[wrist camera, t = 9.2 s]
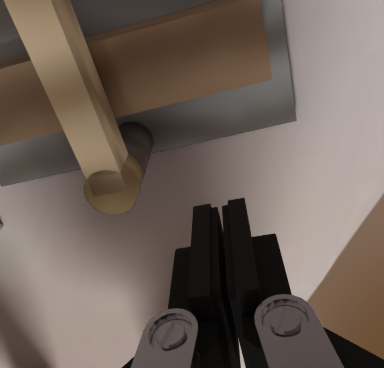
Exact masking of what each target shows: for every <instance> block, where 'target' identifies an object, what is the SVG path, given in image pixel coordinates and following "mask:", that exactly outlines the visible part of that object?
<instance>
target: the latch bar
mask: <svg viewBox="0 0 384 368" xmlns="http://www.w3.org/2000/svg"><path fill="white" fill-rule="evenodd" d="M4 2H5V4H6V7H7V9H8V11H9V13H10V15H11V17H12V20H13V22H14V24H15V26H16V28H17V30H18V33H19V35H20V37H21V39H22V41H23V43H24V46H25V48H26V50H27V52H28V54H29V56H30V59H31V61H32V63H33V65H34V67H35V69H36V72H37V74H38V76H39V78H40V80H41V82H42V85H43V87H44V89H45V91H46V93H47V95H48V98H49V100H50V102H51V104H52V106H53V108H54V111H55V113H56V115H57V117H58V119H59V121H60V124H61V126H62V128H63V130H64V132H65V134H66V137H67V139H68V141H69V143H70V145H71V147H72V150H73V152H74V154H75V156H76V158H77V160H78V163H79V165H80V167H81V169H82V171H83V174H84V176H85V178H86V182H85V185H84V194H85V197H86V199H87V201H88V202H89V203H90V205H91V206H92V207H94V208H95V209H96V210H98V211H100V212H102V213H105V214H110V215H118V214H123V213H125V212H127V211H129V210H130V209H131V208H132V207H133V206H134V204H135V202H136V199H137V196H138V193H139V190H140V187H141V183H142V180H143V170H142V167H141V165H140V163H139V162H138V161H137V160H136V159H135V158H134V157H133V156H131V155H130V154H128V152H127V149H126V146H125V144H124V141H123V138H122V136H121V133H120V131H119V128H118V125H117V123H116V120H115V117H114V115H113V112H112V110H111V107H110V104H109V102H108V99H107V96H106V94H105V91H104V88H103V86H102V83H101V81H100V78H99V75H98V73H97V70H96V67H95V65H94V62H93V59H92V57H91V54H90V52H89V49H88V46H87V44H86V41H85V38H84V36H83V33H82V31H81V28H80V25H79V23H78V20H77V17H76V15H75V12H74V9H73V7H72V4H71V2H70V0H4Z"/></svg>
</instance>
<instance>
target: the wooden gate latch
mask: <svg viewBox="0 0 384 368" xmlns="http://www.w3.org/2000/svg"><path fill="white" fill-rule="evenodd" d="M70 2H71V4H72V7H73V9H74V12H75V15H76V17H77V20H78V23H79V25H80V28H81V31H82V33H83V36H84V38H85V41H86V44H87V46H88V49H89V52H90V54H91V57H92V59H93V62H94V65H95V67H96V70H97V73H98V75H99V78H100V81H101V83H102V86H103V88H104V91H105V94H106V96H107V99H108V102H109V104H110V107H111V110H112V112H113V115H114V117H115V120H116V123H117V125H118V128H119V131H120V133H121V136H122V138H123V141H124V144H125V146H126V149H127V152H128V154H130V155H131V156H133V157H134V158H135V159H136V160H137V161H138V162H139V163H140V165H141V167H142V170H143V177H144V174H145V171H146V167H147V164H148V161H149V158H150V155H151V153H154V152H159V151H163V150H168V149H172V148H177V147H181V146H186V145H190V144H195V143H199V142H204V141H208V140H213V139H217V138H222V137H226V136H231V135H235V134H239V133H244V132H248V131H253V130H257V129H262V128H266V127H271V126H275V125H280V124H284V123H289V122H293V121H296V113H295V105H294V97H293V89H292V81H291V73H290V65H289V57H288V49H287V41H286V33H285V25H284V17H283V9H282V2H281V0H70ZM78 169H81V167H80V165H79V163H78V160H77V158H76V156H75V154H74V152H73V150H72V147H71V145H70V143H69V141H68V139H67V137H66V134H65V132H64V130H63V128H62V126H61V124H60V121H59V119H58V117H57V115H56V113H55V111H54V108H53V106H52V104H51V102H50V100H49V98H48V95H47V93H46V91H45V89H44V87H43V85H42V82H41V80H40V78H39V76H38V74H37V72H36V69H35V67H34V65H33V63H32V61H31V59H30V56H29V54H28V52H27V50H26V48H25V46H24V43H23V41H22V39H21V37H20V35H19V33H18V30H17V28H16V26H15V24H14V22H13V20H12V17H11V15H10V13H9V11H8V9H7V7H6V4H5V2H4V0H0V185H1V186H6V185H11V184H15V183H20V182H24V181H29V180H33V179H38V178H42V177H47V176H51V175H56V174H60V173H65V172H69V171H74V170H78Z"/></svg>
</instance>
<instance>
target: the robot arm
mask: <svg viewBox="0 0 384 368" xmlns="http://www.w3.org/2000/svg"><path fill="white" fill-rule="evenodd" d="M222 213H223V229H222V224H221V220H220V216H219V211H218V208H217V207H214V208H212V207H211V204H205V205H199V206H194V208H193V222H192V236H191V247H186V248H179V249H176V251H175V257H174V265H173V273H172V281H171V289H170V297H169V305H168V310H165V311H163V312H160V313H159V314H157V315H156V316H154V317H153V318H152V319H151V320H150V321H149V322H148V323H147V325H146V327H145V329H144V331H143V334H142V337H141V339H140V342H139V345H138V348H137V351H136V354H135V356H134V357H133V358H132V359H131V360H130V361H129V362H128V363H127V364H125V365H124V366H123V367H122V368H241V365H240V353H239V342H240V346H241V350H242V354H243V358H244V362H245V366H246V368H384V360H383V359H381V358H379V357H378V356H376V355H374V354H372V353H370V352H368V351H366V350H365V349H363V348H361V347H359V346H357V345H355V344H354V343H352V342H350V341H348V340H346V339H344V338H343V337H341V336H339V335H337V334H335V333H333V332H331V331H330V330H328V329H326V328H324V327H322V325H321V323H320V321H319V319H318V317H317V315H316V313H315V311H314V310H313V308H312V307H311V306H310V305H309V303H308V302H306V301H305V300H303V299H302V298H300V297H297V296H294V295H292V294H291V290H290V286H289V283H288V279H287V275H286V271H285V267H284V264H283V260H282V256H281V252H280V248H279V245H278V241H277V237H276V234H269V235H262V236H256V237H252V236H251V231H250V225H249V220H248V215H247V209H246V204H245V199H244V198H240V199H234V200H229V201H228V205H225V206H222ZM223 230H224V233H223ZM238 338H239V341H238Z"/></svg>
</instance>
